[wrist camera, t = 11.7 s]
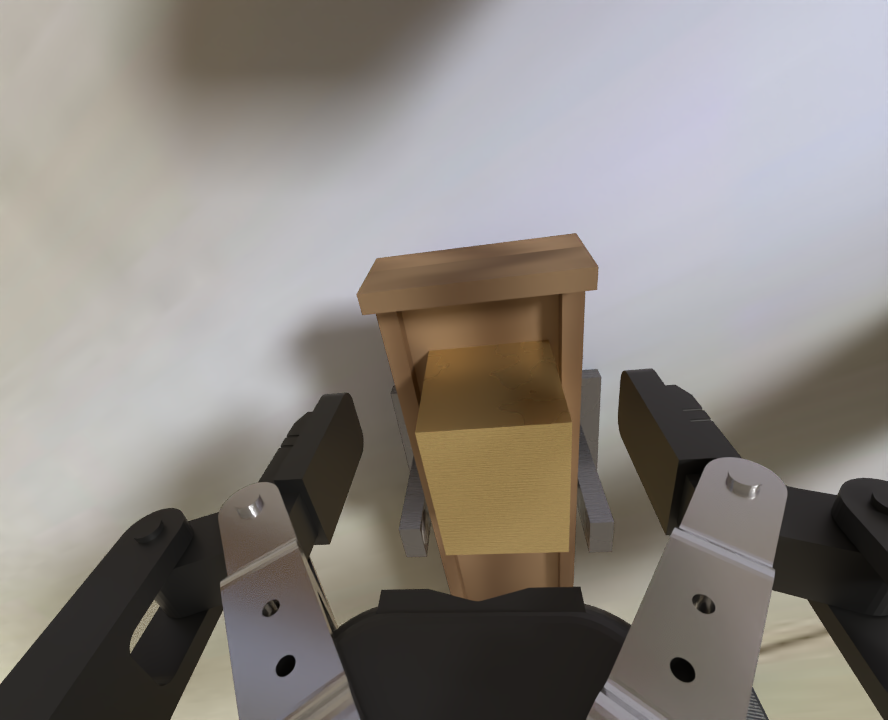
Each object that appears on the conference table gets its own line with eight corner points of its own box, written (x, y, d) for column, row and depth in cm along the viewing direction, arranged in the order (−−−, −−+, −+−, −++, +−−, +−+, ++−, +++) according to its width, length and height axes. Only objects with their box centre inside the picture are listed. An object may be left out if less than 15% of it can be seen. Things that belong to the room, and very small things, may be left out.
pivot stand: (597, 369, 28) (644, 467, 20) (592, 478, 32) (629, 592, 25) (393, 386, 30) (362, 481, 22) (417, 487, 34) (399, 595, 26)
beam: (575, 233, 16) (598, 266, 13) (565, 669, 38) (572, 717, 35) (376, 258, 17) (356, 294, 14) (477, 668, 39) (477, 715, 36)
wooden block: (572, 422, 13) (569, 551, 17) (548, 339, 17) (550, 458, 21) (414, 432, 14) (446, 555, 17) (429, 350, 18) (451, 464, 22)
